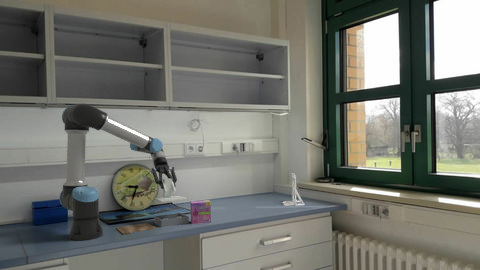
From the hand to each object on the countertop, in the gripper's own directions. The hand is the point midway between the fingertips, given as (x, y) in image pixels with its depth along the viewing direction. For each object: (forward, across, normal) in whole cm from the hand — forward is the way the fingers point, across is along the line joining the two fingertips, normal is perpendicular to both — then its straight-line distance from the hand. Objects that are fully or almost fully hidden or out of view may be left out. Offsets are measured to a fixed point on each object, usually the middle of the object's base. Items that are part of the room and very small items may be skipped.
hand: (170, 192), depth 205 cm
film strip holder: (+9, -88, -13) cm, 90 cm away
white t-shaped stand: (+3, 0, -2) cm, 4 cm away
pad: (+13, +19, -12) cm, 26 cm away
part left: (+14, +4, -10) cm, 17 cm away
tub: (+12, 0, -11) cm, 17 cm away
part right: (+14, -4, -10) cm, 17 cm away
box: (+18, -14, -6) cm, 24 cm away
